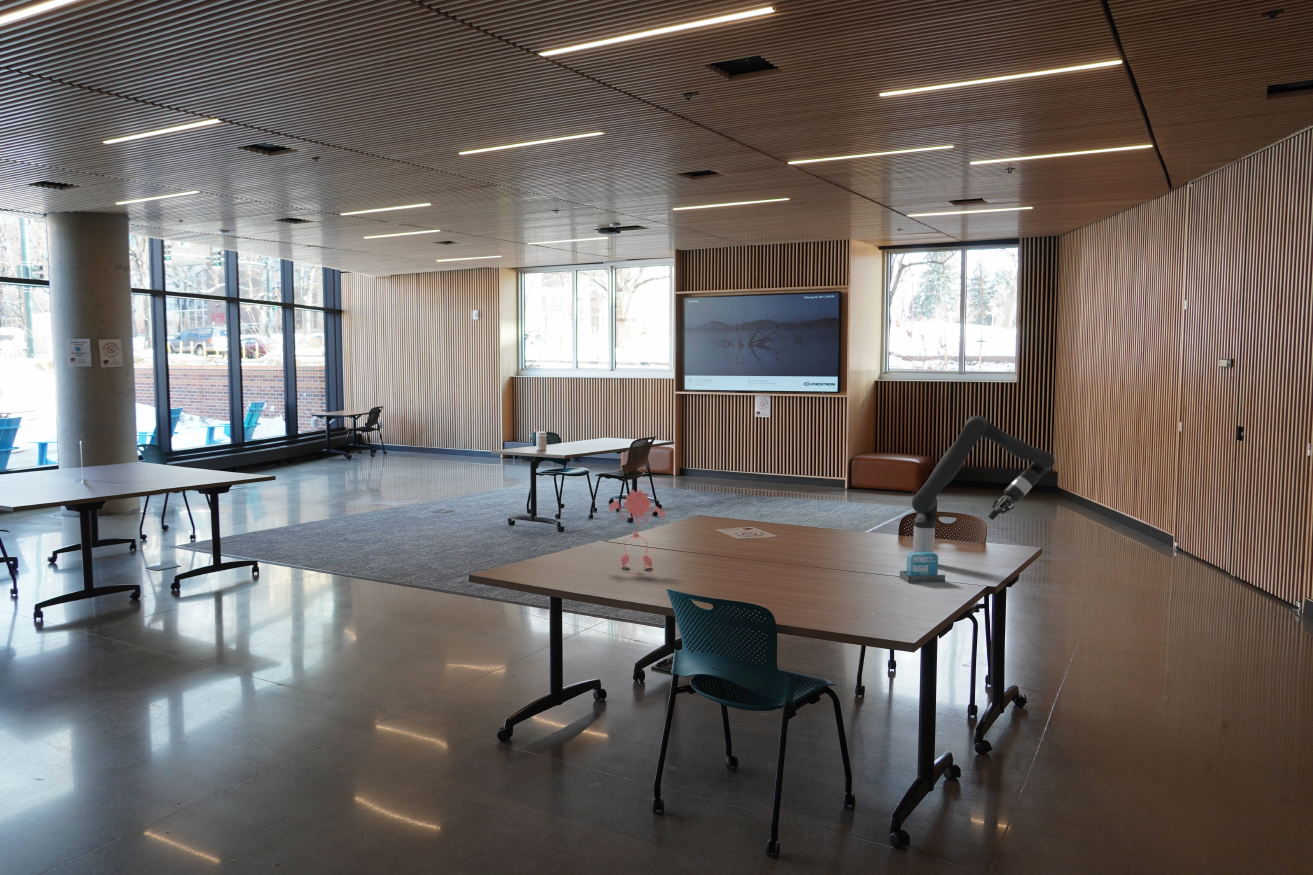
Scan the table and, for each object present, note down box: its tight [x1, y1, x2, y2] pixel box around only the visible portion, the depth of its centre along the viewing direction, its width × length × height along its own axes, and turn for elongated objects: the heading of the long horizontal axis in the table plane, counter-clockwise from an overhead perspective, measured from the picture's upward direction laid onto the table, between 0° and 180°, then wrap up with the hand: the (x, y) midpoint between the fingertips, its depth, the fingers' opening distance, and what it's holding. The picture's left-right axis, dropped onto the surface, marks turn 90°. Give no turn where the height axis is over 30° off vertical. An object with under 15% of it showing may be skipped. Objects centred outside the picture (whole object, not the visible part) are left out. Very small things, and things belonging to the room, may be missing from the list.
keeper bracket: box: [899, 570, 946, 584], centre depth 381 cm, size 10×16×3 cm, turn 98°
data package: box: [906, 551, 939, 576], centre depth 379 cm, size 12×4×12 cm, turn 98°
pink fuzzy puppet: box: [608, 489, 666, 571], centre depth 405 cm, size 15×26×35 cm, turn 80°
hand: (990, 518), depth 384 cm, fingers closed
